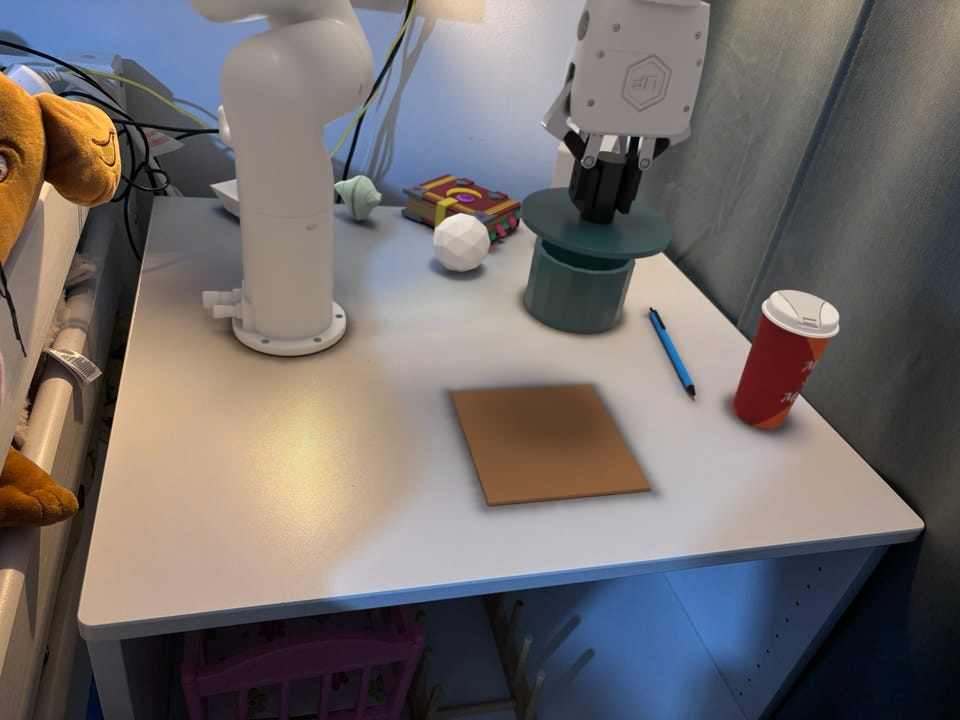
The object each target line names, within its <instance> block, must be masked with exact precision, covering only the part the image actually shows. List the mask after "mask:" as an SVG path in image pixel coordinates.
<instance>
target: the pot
mask: <svg viewBox="0 0 960 720" xmlns="http://www.w3.org/2000/svg"><path fill="white" fill-rule="evenodd" d="M530 263H531V264H530V269H529V274H528V280H527V284H526V289H525V290H526V291H525V294H524V295H525V296H524V305H525V308H526V309H527V310H528V312H529V313H530V314H531V315H532V316H533V317H534V318H535V319H537V320H538V321H540V322H541V323H543V324H545V325H547V326H549V327H551V328H555V329H557V330H561V331H564V332H568V333H573V334H574V333H575V334H598V333H602V332H606V331H608V330H610V329H612V328H613V327H615V326H616V325H617V324H618V322H619V320H620V318H621V316H622V312H623V309H624V305H625V301H626V298H627V293H628V291H629V287H630V284H631V280H632V277H633V273H634V270H635V266H636V259H610V258H602V257H595V256H590V255H585V254H581V253H578V252H574V251H571V250H568V249H565V248H562V247H560V246H557V245H555V244H552V243H550V242H548V241H546V240H544V239H543V238H541V237H539V236H538V235H536V237H535V243H534V248H533V253H532V258H531V262H530Z"/></svg>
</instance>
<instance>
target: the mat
mask: <svg viewBox="0 0 960 720" xmlns="http://www.w3.org/2000/svg"><path fill="white" fill-rule="evenodd" d="M450 397H451V398H452V402H453V405H454V408H455V410H456V413H457V417H458V419H459V423H460V425H461V429H462V431H463V432H462V433H463V434H464V438H465V440H466V444H467V446H468V449H469V452H470V455H471V459H472V461H473V464H474V468H475V470H476V474H477V476H478V479H479V482H480V486H481V488H482V491H483V494H484V497H485V499H486V503H487V506H489V507H490V506H491V507H492V506H499V505H500V506H502V505H512V504H522V503H532V502H533V503H534V502H542V501H554V500H563V499H564V500H565V499H575V498H587V497H597V496H607V495H608V496H609V495H616V494H628V493H629V494H630V493H638V492H650V491H651V489H652V486H651V485H650V483H649V481H648V480H647V478H646V476H645V474H644V473H643V471H642V469H641V468H640V466H639V465H638V462H637V461H636V459H635V458H634V456H633V454H632V452H631V450H630V449H629V447H628V446H627V444H626V442H625V441H624V439H623V437H622V435H621V433H620V432H619V430H618V429H617V427H616V425H615V424H614V422H613V420H612V419H611V417H610V415H609V413H608V411H607V410H606V408H605V407H604V404H603V403H602V402H601V399H600V398H599V397H598V395H597V393H596V391H595V390H594V388H593V386H592V385H591V384H582V385H581V384H577V385H576V384H575V385H557V386H555V385H554V386H537V387H517V388H498V389H497V388H495V389H476V390H457V391H451V392H450Z"/></svg>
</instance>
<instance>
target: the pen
mask: <svg viewBox="0 0 960 720" xmlns="http://www.w3.org/2000/svg"><path fill="white" fill-rule="evenodd" d="M649 316H650V318H651V319H652V321H653V324H654V326H655V328H656V330H657V332H658V334H659V336H660V337H661V340H662V343H663V344H664V346H665V349H666V350H667V352H668V354H669V356H670V358H671V360H672V362H673V364H674V367H675V368H676V370H677V372H678V374H679V376H680V378H681V380H682V382H683V385H684V386H685V388H686V390H687V391H688V392H689V393H690V394H691V395H692V396H693V397H694V398H696V397H697V393H696V388H695V385H694V383H693V381H692V378H691V377H690V375H689V373H688V370H687V369H686V367H685V365H684V363H683V361H682V360H681V359H682V358H681V357H680V355H679V353H678V351H677V350H676V347H675V345H674V343H673V341H672V340H671V338H670V336H669V334H668V332H667V330H666V329H667V328H666V326H665V323H664V322H663V321H662V318H661V317H660V314H659V312H658V311H657V310H656V309H654V308H653V307H652V306H650V307H649Z"/></svg>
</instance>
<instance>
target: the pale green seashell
mask: <svg viewBox="0 0 960 720" xmlns="http://www.w3.org/2000/svg"><path fill="white" fill-rule="evenodd" d="M334 190H335V191H336V192H337V193H338V194H339V196H340V197H341V198H342V200H343V201H344V203H345V206H346V209H347V212H348V213H349V215H350V217H352V218H353V219H355V220H356V221H363V220H366V219H367V218H368V217H369V216H370V215H371V213H372V211H373V210H374V209H375V208H376V207H378V205H379V204H380V203H381V202H382V200H383V194H382V193H380V192H379V191H377V189H376V187H375V185H374V183H373V182H372V180H371V179H370V178H369V177H367V176H365V175H356V176H354V177H353V178H350V179H347V180H340V181H339V182H337V183H334Z"/></svg>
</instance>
